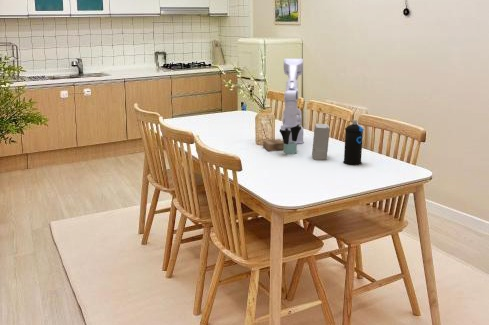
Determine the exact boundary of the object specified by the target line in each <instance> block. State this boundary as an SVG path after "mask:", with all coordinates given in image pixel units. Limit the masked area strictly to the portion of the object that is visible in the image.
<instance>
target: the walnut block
mask: <svg viewBox="0 0 489 325" xmlns="http://www.w3.org/2000/svg"><path fill="white" fill-rule="evenodd" d="M282 140H283V139H280V138H278V139H264V140H262V148H263V149H264V150H266V151H267V152H280V151H281V152H282V151H283V152H284V142H283V141H282Z"/></svg>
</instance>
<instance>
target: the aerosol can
mask: <svg viewBox="0 0 489 325" xmlns="http://www.w3.org/2000/svg"><path fill="white" fill-rule="evenodd" d="M344 130H345V133H344V134H345V135H344V136H345V137H344V150H343V151H344V154H343V161H342V163H343V164H345V165H347V166H359V164H360V165H361V164H362V155H363V154H362V152H363V136H364V130H365V129H364V128H363V127H362V126H361V125H359V124H358V119H352V123H351V124H349V125H348V126H346V127H345V129H344Z"/></svg>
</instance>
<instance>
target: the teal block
mask: <svg viewBox="0 0 489 325" xmlns="http://www.w3.org/2000/svg"><path fill="white" fill-rule="evenodd" d="M297 147H298V145H297V144H296V143H294V142H289V143H288V144H284V150H283V153H284V154H285V155H287V156H288V155H297V149H298V148H297Z"/></svg>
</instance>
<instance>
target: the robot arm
mask: <svg viewBox="0 0 489 325" xmlns="http://www.w3.org/2000/svg"><path fill="white" fill-rule="evenodd" d="M303 72H304V59H303V58H302V57H301V58H286V57H284V59H283V73H284V74H285V75H286V76H288V79H287V80H286V82H285V83H286V84H285V91H284V95H283V96H284V109H283V111H282V125H281V126H280V129H279V132H280V135H281V138H282V139H281V140H282V141H283V142H284V144H288V143H289V142H294V143H296V144H304V128H303V126H302V110H301V109H300V108H298V102H299V82H298V79H299V76H302V75H303Z"/></svg>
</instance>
